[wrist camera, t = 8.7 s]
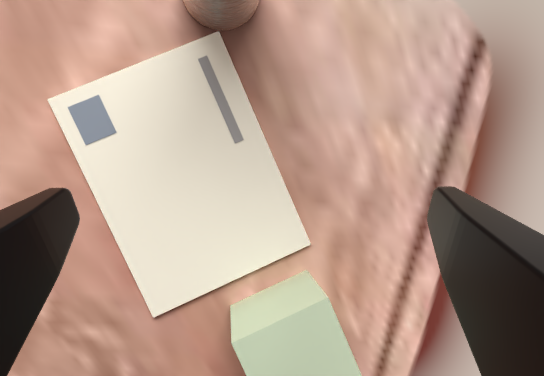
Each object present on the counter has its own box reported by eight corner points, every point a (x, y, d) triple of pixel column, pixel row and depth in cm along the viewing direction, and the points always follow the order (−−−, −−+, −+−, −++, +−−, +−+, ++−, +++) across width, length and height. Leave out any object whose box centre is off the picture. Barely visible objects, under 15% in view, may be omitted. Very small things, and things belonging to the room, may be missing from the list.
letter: (310, 243, 21) (311, 244, 20) (154, 315, 20) (153, 318, 19) (218, 32, 19) (218, 30, 19) (49, 100, 19) (47, 99, 18)
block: (337, 341, 21) (367, 388, 17) (263, 377, 21) (273, 435, 16) (306, 269, 21) (328, 297, 16) (230, 304, 20) (231, 343, 16)
